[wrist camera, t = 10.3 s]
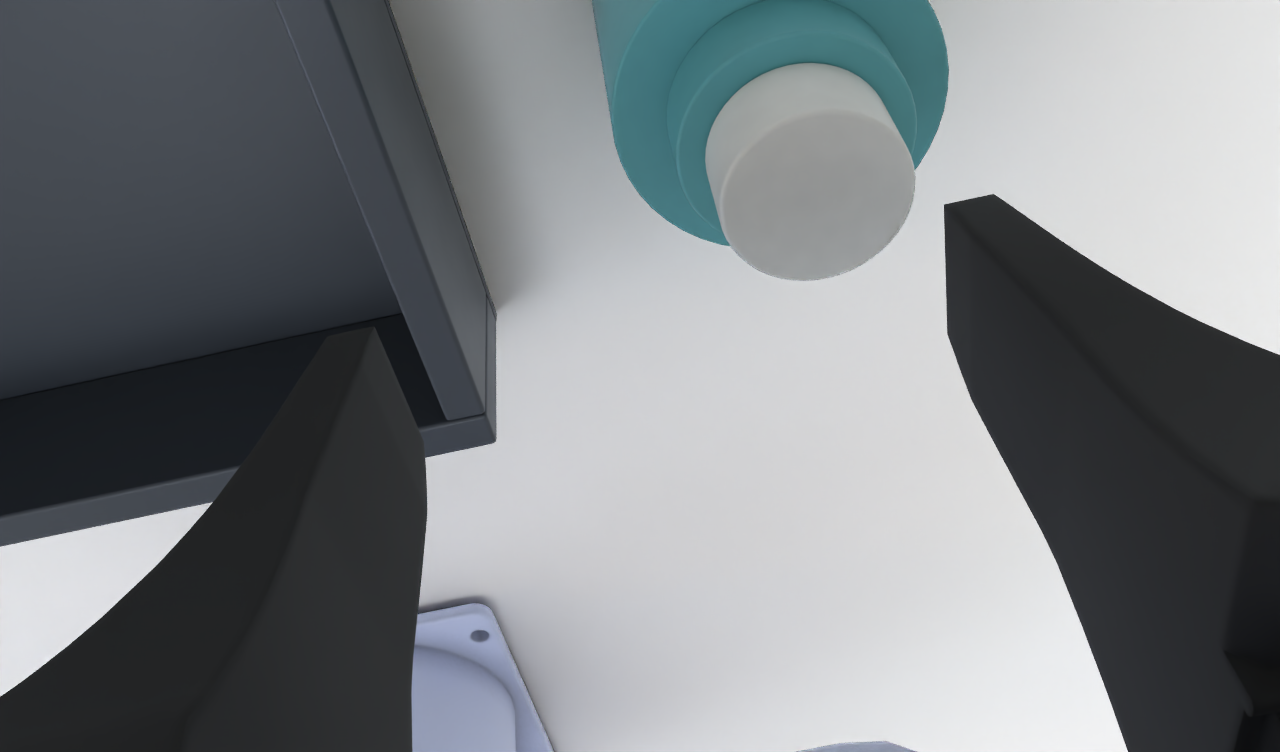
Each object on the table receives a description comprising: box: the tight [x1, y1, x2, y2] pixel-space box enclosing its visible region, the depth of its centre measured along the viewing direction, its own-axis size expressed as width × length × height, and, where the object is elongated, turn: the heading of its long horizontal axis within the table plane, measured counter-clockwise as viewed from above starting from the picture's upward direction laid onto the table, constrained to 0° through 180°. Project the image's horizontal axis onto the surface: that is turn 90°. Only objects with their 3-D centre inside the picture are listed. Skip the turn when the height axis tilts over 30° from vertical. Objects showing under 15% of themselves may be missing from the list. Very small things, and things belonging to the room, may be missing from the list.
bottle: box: [592, 0, 949, 281], centre depth 19 cm, size 5×5×9 cm
